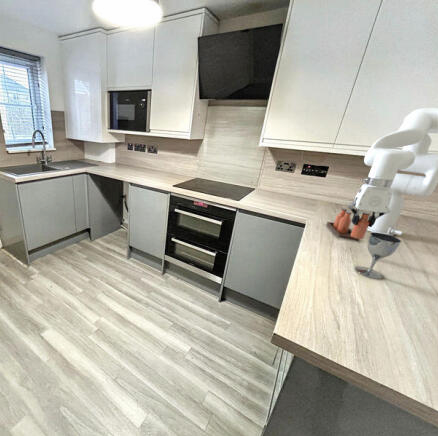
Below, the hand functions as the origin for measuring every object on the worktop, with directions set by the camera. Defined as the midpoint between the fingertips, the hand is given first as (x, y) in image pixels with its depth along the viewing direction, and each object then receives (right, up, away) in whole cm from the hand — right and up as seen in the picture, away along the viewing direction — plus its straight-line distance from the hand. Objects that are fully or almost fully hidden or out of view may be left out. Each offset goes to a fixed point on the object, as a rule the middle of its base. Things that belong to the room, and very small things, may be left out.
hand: (361, 224), depth 100 cm
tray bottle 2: (+12, -5, +25) cm, 28 cm away
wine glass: (-7, -18, -11) cm, 22 cm away
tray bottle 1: (+14, -3, +30) cm, 33 cm away
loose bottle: (0, -5, +2) cm, 6 cm away
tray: (+12, -5, +25) cm, 28 cm away
